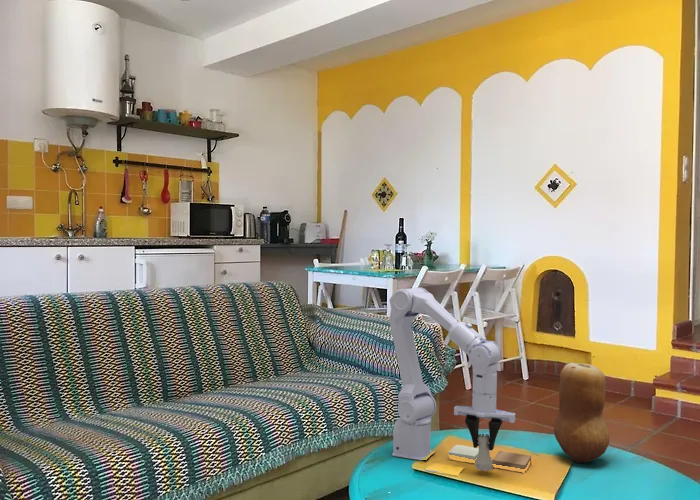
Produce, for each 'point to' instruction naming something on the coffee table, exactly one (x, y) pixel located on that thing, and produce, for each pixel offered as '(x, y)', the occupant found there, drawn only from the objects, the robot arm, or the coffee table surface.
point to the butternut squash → (582, 412)
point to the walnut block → (511, 459)
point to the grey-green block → (464, 451)
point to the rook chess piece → (483, 454)
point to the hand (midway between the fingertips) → (483, 447)
